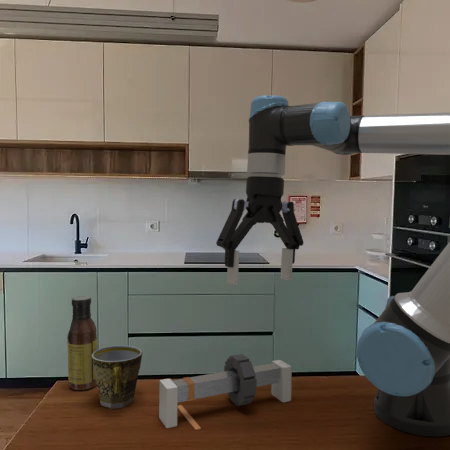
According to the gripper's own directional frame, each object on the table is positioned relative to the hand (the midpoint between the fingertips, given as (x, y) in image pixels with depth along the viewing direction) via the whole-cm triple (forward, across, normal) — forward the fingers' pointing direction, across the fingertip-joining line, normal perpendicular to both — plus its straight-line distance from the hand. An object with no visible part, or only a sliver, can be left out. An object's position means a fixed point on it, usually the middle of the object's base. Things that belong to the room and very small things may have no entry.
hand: (260, 281), depth 87 cm
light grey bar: (+21, +6, 0) cm, 22 cm away
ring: (+25, +4, 0) cm, 25 cm away
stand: (+25, +6, 0) cm, 26 cm away
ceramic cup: (+26, +25, -13) cm, 38 cm away
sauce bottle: (+26, +28, -26) cm, 46 cm away
